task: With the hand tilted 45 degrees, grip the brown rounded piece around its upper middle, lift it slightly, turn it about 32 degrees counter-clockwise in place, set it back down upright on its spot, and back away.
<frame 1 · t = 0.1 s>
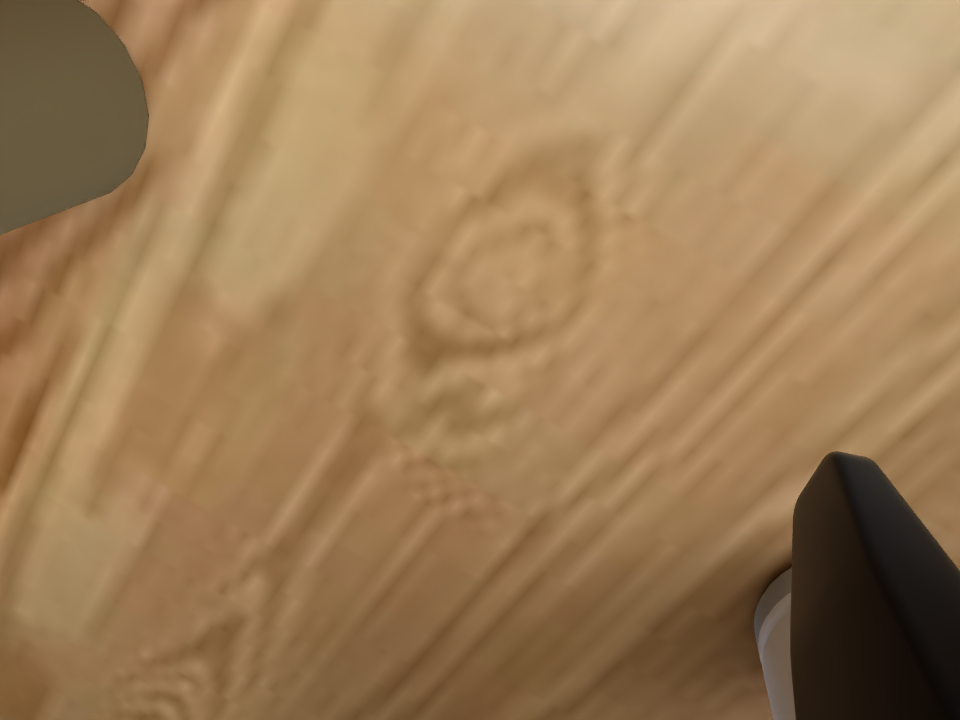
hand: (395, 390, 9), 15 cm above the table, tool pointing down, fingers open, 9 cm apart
brown rounded piece: (45, 95, 24), on the table
travel mug: (848, 613, 30), on the table
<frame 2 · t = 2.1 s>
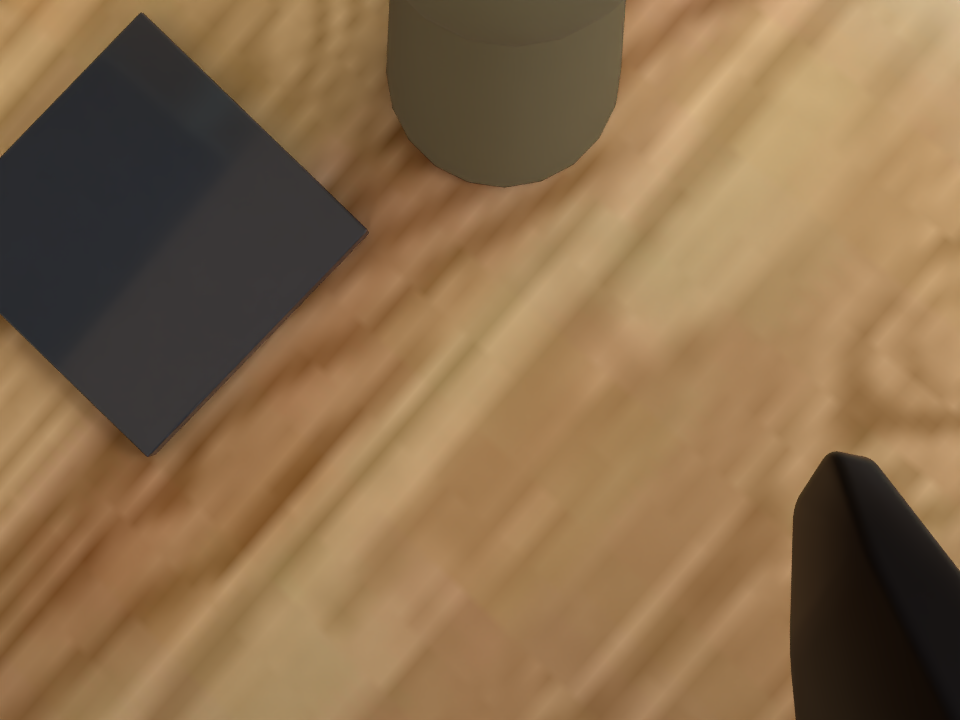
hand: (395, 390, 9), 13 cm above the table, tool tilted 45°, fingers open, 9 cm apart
brown rounded piece: (503, 72, 23), on the table
slate coaster: (151, 236, 23), on the table
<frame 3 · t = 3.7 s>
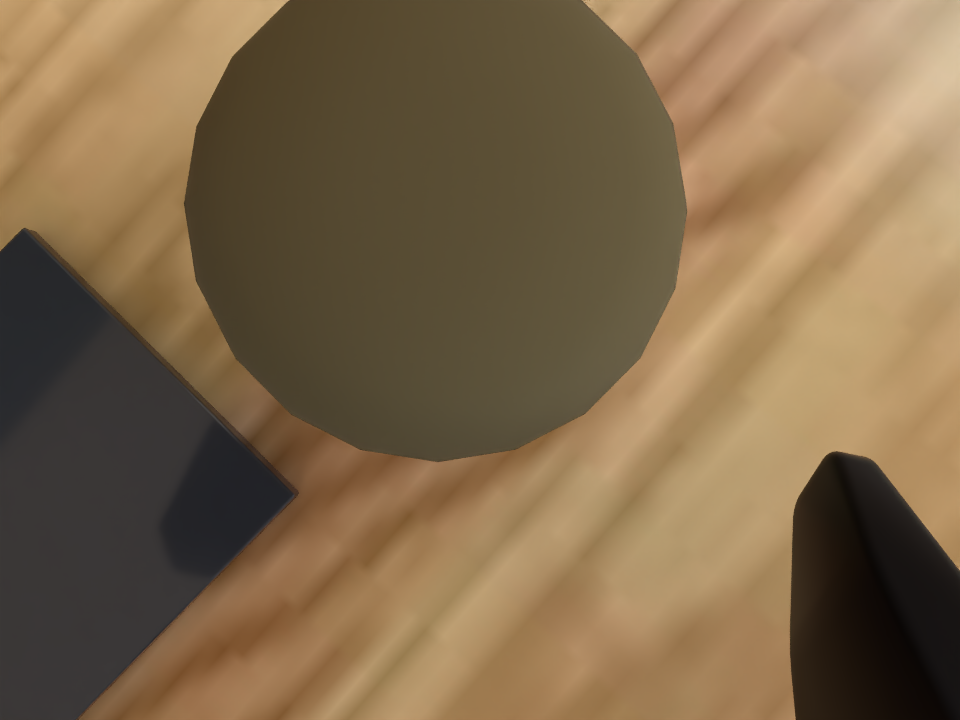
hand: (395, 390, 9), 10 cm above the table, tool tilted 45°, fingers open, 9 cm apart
brown rounded piece: (464, 297, 19), on the table
slate coaster: (35, 495, 19), on the table
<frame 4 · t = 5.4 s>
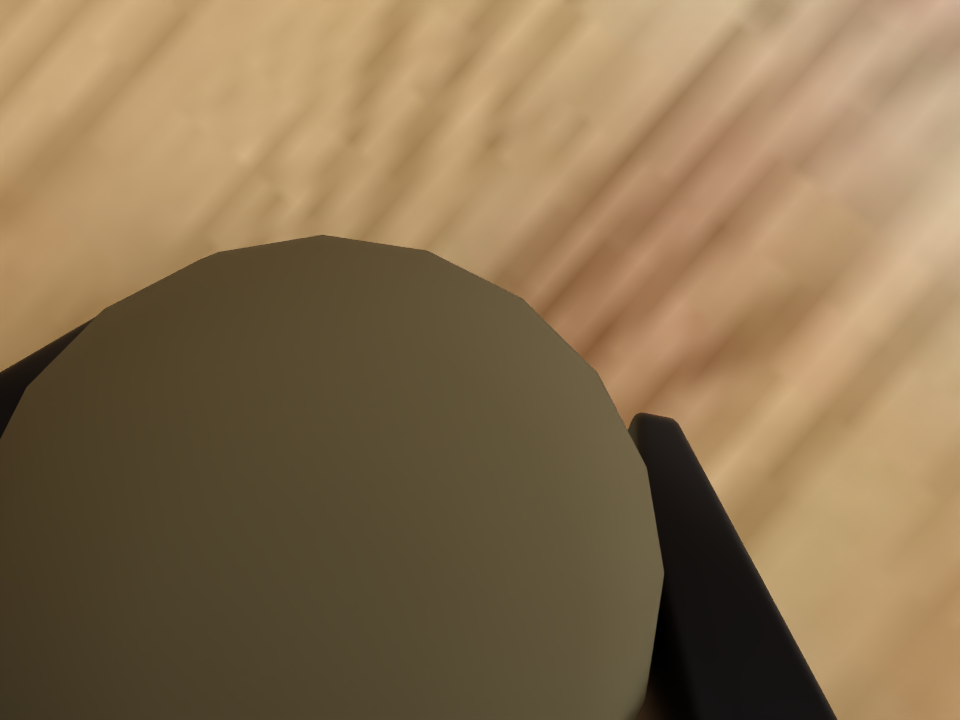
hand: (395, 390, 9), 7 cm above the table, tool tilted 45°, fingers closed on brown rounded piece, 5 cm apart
brown rounded piece: (420, 454, 16), on the table, touching gripper
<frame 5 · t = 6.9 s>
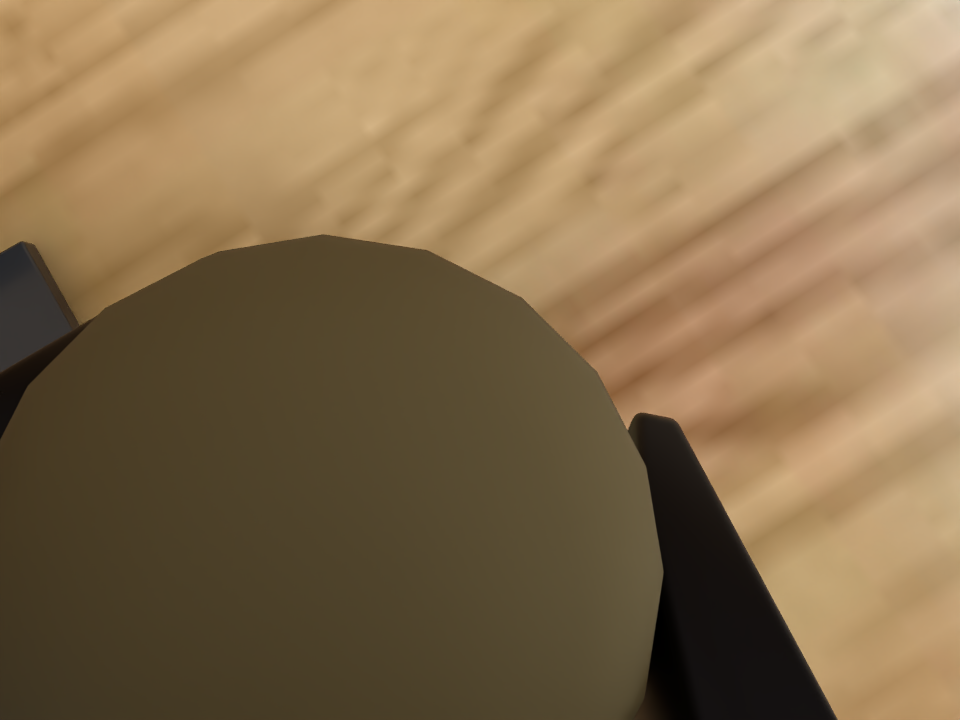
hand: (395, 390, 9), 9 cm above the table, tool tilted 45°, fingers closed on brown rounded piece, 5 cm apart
brown rounded piece: (419, 455, 16), point 1 cm above the table, touching gripper
when the fingers open (7 cm above the table, at t = 8.5 s): brown rounded piece stays where it is, on the table.
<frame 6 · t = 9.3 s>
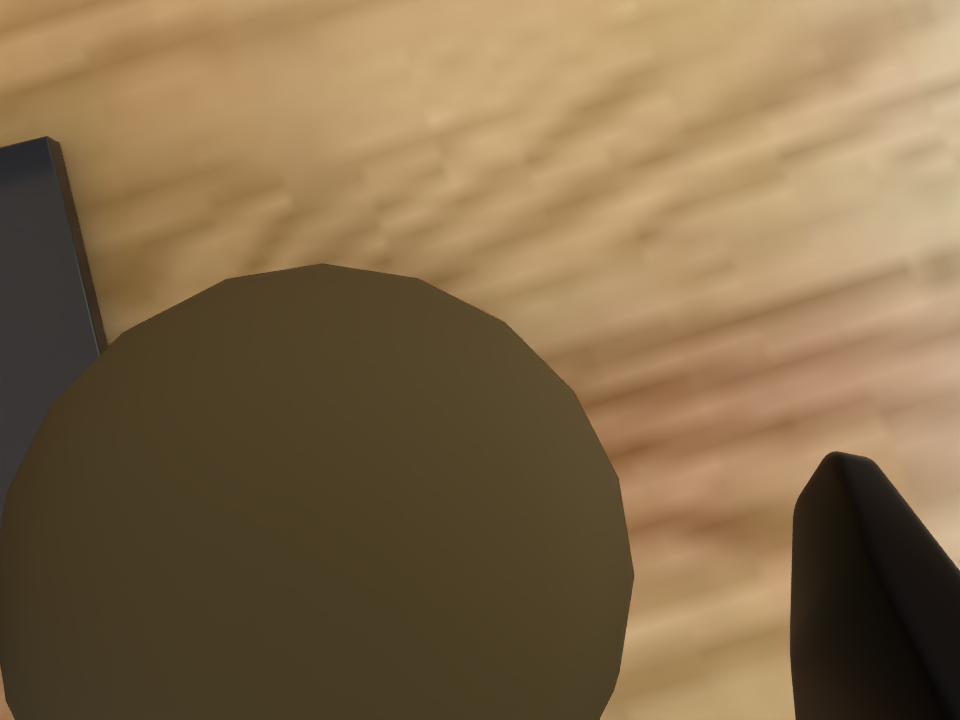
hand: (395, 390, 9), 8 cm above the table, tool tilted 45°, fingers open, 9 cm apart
brown rounded piece: (417, 460, 17), on the table
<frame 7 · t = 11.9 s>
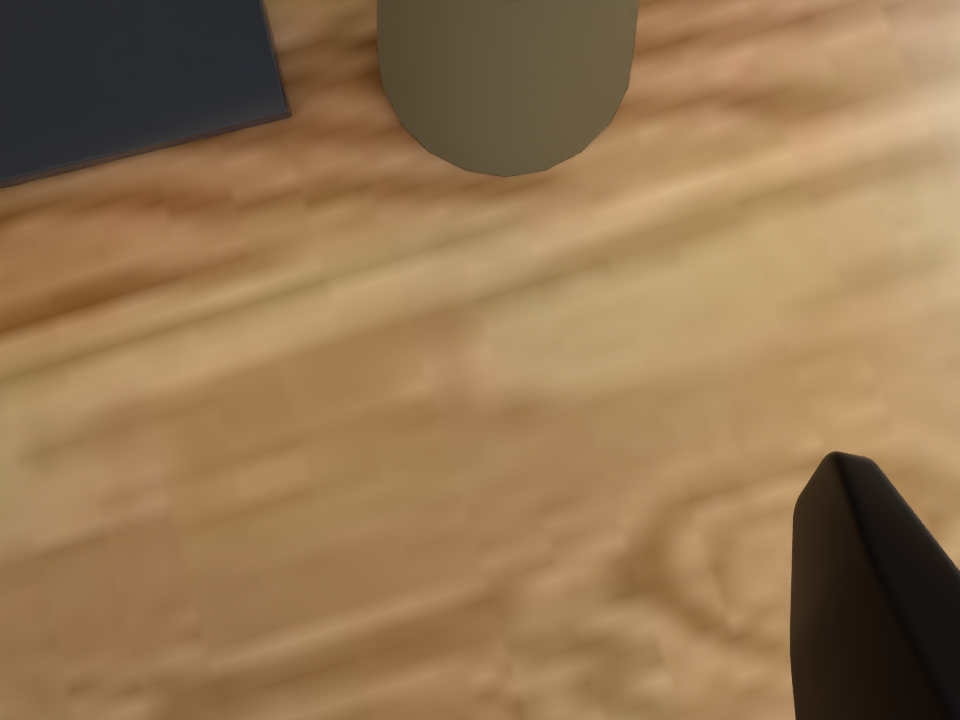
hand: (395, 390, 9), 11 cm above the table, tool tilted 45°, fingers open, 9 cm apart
brown rounded piece: (505, 51, 21), on the table
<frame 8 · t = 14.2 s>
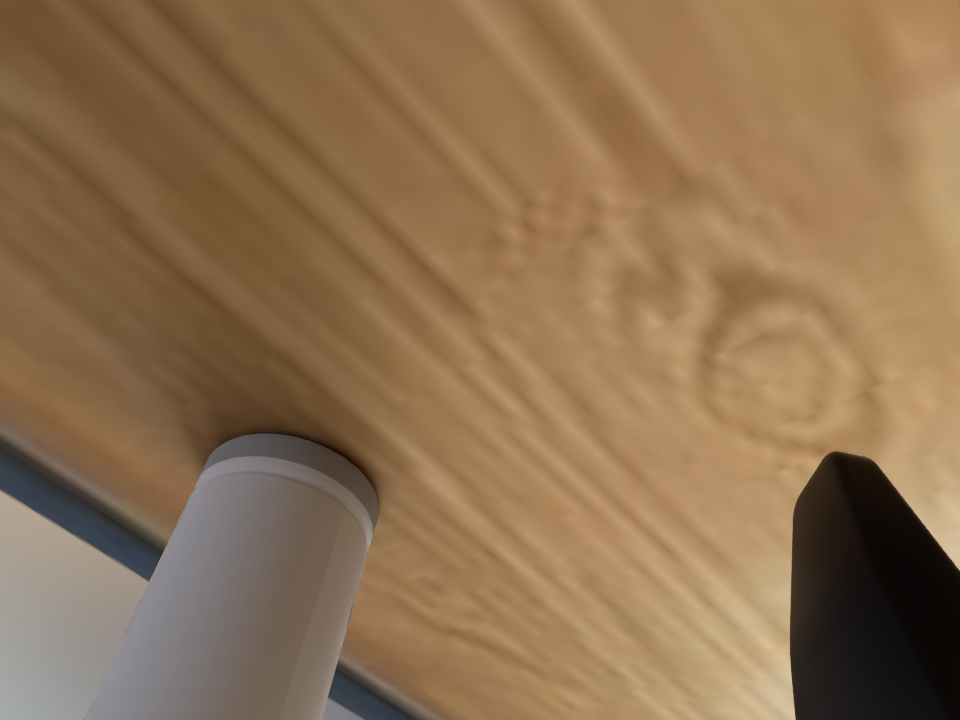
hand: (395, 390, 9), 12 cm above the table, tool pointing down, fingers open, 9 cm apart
travel mug: (292, 485, 31), on the table
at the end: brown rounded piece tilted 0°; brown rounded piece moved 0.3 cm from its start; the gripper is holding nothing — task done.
